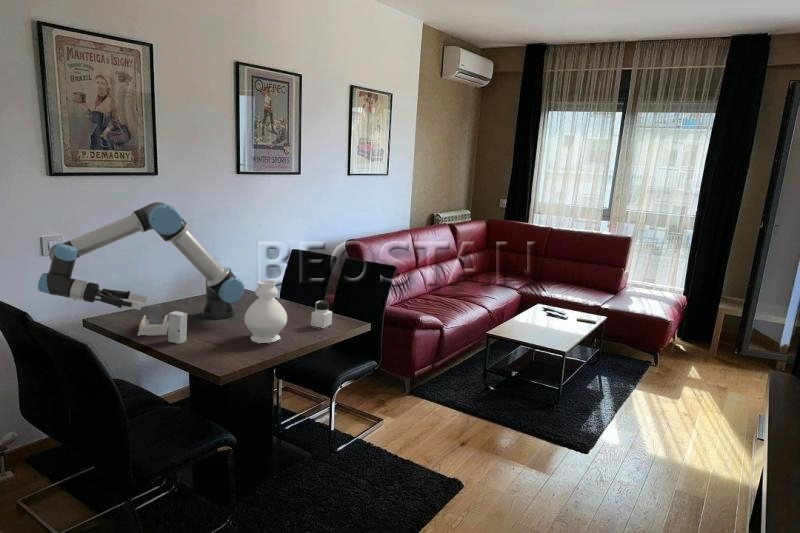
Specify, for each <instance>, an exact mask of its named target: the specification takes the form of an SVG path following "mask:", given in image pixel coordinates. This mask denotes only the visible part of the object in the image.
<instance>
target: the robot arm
mask: <svg viewBox="0 0 800 533" xmlns="http://www.w3.org/2000/svg"><path fill="white" fill-rule="evenodd" d="M151 230H154V231H155V232H156V233H157V235H158V236H160V237H161V239H162V240H164V242H170V243H171V244H172V245H173V246H174V247H175V248H176V249H177V250H178V251H179V252H180V253H181V254H182V255H183V256H184V257H185V259H187V260H188V262H190V263H191V264H192V266H193V267H194V268H195V269H196V270H197V271H198V272H199V273H200V274H201V275H202V276H203V277H204V279H205V301H204V304H203V306H202V308H201V316H202V317H203V318H206V319H213V320H221V319H230V318H232V317H234V316H235V314H236V309H235V306H234V304H233V303H236V302H237V301H239V300H240V299H242V297H243V296H244V294H245V285H244V283H243V281H242V280H241V278H237V277H236V276H235V275H234V273H233V272H232V269H231V268H230V267H224V266H222V265H221V264H220V262H218V261H217V260H216V258H214V257H213V256H212V254H211V253H210V252H209V251H208V250H207V249H206V248H205V247H204V245H203V244H201V242H200V241H199V240H198V239H197V238H196V236H194V234H192V233H191V231H190V230H189V229H188V223H187V221H186V220H185V219H184V218H183V217H182V215H181V214H180V211H179V210H177V208H175V207H174V206H172V205H169V204H166V203H164V202H157V201H156V202H152V203H149V204H147V205H144V206H142V207H141V208H138V209H135V210H134V211H131V214H130V215H128V216H125V217H123V218H121V219H118V220H117V221H114V222H111V223H109V224H105V225H104V226H101V227H99V228H96V229H94V230H92V231H89V232H87V233H84V234H82V235H80V236H77V237H75V238H73V239H69V240H68V241H65V242H63V243H56V244H54V245H51V247H50V249H49V253H48V256H49V259H50V261H51V263H50V266H49V270H48V272H47V273H46V272H43V273H42V274H41V275H40V276H39V279H38V282H37V290H38V291H39V292H41V293H44V294H49V296H50V295H51V296H58V297H64V298H69V299H72V300H73V301H76V300H79V301H82V300H83V301H84V302H87V303H92V304H93V303H95V301H98V302H102V303H104V304H107V305H111V306H115V307H116V308H119V309H122V307H124V308H128V309H133V310H138V311H141V309H142V306H143V304H146V302H147V298H148V296H144V295H139V294H136V293H135V294H134V293H131V291H130V290H128V291H124V290H117V289H116V290H114V289H109V288H102V289H100V285H99V283H95V282H92V281H91V282H88V281H87V280H86V281H85V280H82V279H76V278H72V275H73V271H74V267H75V263H76V260H77V259H78V258H80V257H82V256H85V255H87V254H90V253H92V252H94V251H97V250H99V249H101V248H103V247H106V246H108V245H111V244H113V243H116V242H117V241H121V240H122V239H125V238H128V237H130V236H131V235H135V234H137V233H139V232H141V233H146V232H148V231H151Z"/></svg>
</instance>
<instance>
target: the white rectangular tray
mask: <svg viewBox="0 0 800 533" xmlns="http://www.w3.org/2000/svg"><path fill="white" fill-rule="evenodd" d="M168 321H169V314H165V316H164V318H162V323H149V318H147V315H143V317H142V319H141V321H140V324H139V326H138V332H137V336H138V337H139V336H140V335H147V336H168Z"/></svg>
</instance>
